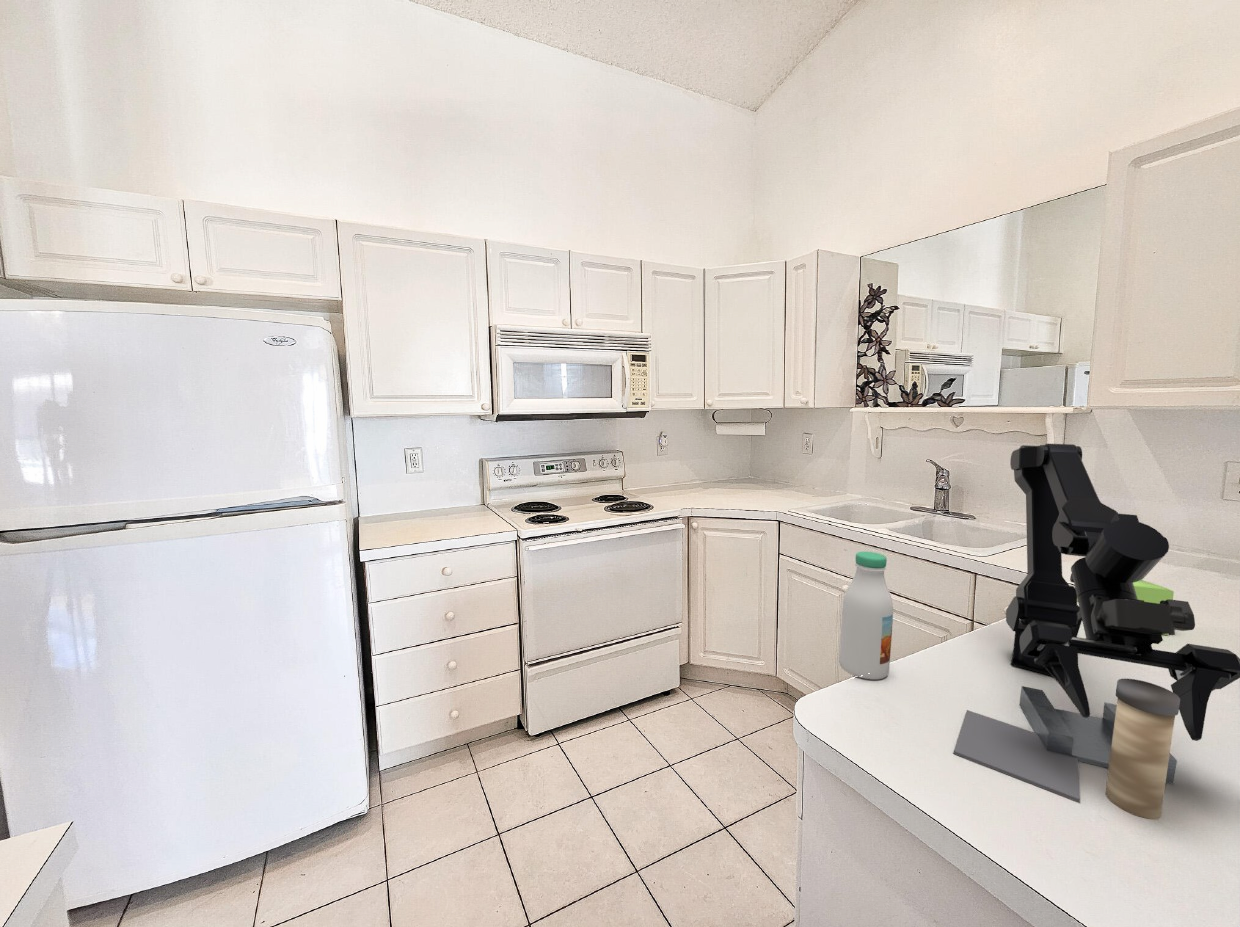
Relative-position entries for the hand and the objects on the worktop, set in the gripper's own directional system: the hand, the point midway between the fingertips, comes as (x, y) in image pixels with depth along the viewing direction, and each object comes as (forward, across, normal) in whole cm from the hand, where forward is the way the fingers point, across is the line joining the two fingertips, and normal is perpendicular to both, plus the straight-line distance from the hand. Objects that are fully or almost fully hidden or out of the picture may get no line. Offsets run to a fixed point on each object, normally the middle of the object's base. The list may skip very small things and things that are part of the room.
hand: (1139, 727), depth 56 cm
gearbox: (-40, +23, +52) cm, 70 cm away
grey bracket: (-2, 0, +14) cm, 15 cm away
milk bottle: (-7, -27, +20) cm, 34 cm away
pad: (+3, -10, +9) cm, 14 cm away
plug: (+6, 0, +6) cm, 9 cm away
